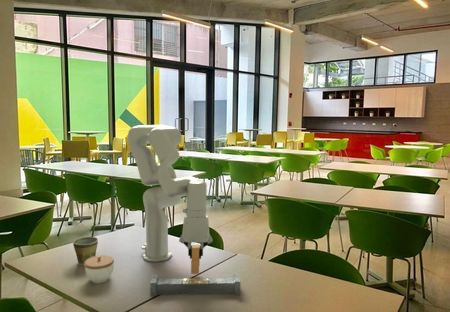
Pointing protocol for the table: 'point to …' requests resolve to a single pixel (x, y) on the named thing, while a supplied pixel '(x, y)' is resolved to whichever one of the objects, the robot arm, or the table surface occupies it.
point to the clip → (195, 259)
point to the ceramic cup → (85, 248)
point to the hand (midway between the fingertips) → (195, 257)
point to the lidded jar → (99, 268)
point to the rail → (195, 286)
